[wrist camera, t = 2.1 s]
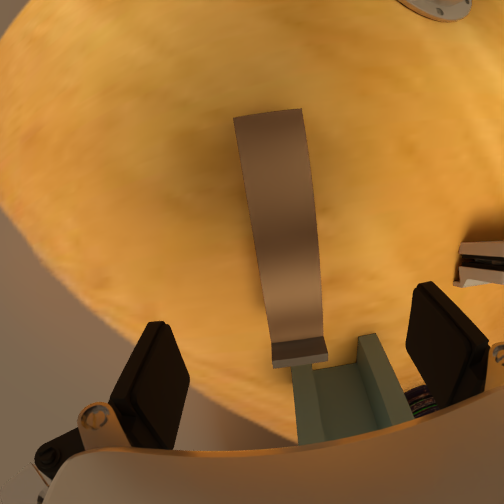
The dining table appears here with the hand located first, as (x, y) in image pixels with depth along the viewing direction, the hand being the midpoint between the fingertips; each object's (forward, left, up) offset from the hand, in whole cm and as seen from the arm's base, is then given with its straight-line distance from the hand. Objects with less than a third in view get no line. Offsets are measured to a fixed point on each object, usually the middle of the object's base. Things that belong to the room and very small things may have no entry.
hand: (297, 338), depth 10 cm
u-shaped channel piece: (+17, +4, -15) cm, 23 cm away
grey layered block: (+6, +27, -15) cm, 32 cm away
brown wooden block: (0, 0, -15) cm, 15 cm away
